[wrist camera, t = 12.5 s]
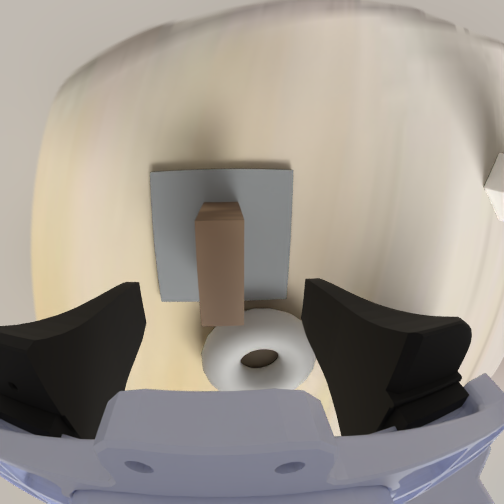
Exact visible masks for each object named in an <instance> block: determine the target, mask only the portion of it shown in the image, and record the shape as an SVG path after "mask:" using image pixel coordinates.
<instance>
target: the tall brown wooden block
mask: <svg viewBox="0 0 504 504" xmlns="http://www.w3.org/2000/svg"><path fill="white" fill-rule="evenodd" d="M195 242H196V260H197V275H198V289H199V302H200V313H201V324H202V326H242V325H244V217H243V214H242V212H241V209H240V206H239V203H238V202H204V203H203V205H202V207H201V209H200V211H199V213H198V215H197V217H196V219H195Z"/></svg>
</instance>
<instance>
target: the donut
mask: <svg viewBox="0 0 504 504" xmlns="http://www.w3.org/2000/svg"><path fill="white" fill-rule="evenodd" d="M258 349H269V350H274V351H276V352H277V353H278V358H277V359H276V360H275V361H274V362H273V363H272V364H270V365H268V366H265V367H262V368H251V367H247V366H245V365H243V364H242V363H241V359H242V357H243V356H244V355H246V354H248V353H249V352H251V351H255V350H258ZM201 354H202V365H203V371H204V373H205V374H206V376H207V378H208V380H209V381H210V383H211V384H212V385H213V386H214V387H215V388H217V389H218V390H219V391H242V390H260V389H272V388H276V389H289V390H294V389H296V388H297V387H298V386H299V385H300V384H302V383H303V382H304V381H305V380H306V379H307V377H308V376H309V374H310V372H311V371H312V369H313V367H314V363H315V359H316V356H315V354H314V352H313V350H312V348H311V346H310V344H309V341H308V339H307V337H306V334H305V331H304V327H303V324H302V321H301V320H300V319H298V318H296V317H295V316H293V315H292V314H290V313H287V312H283V311H279V310H276V309H272V308H257V309H249V310H246V311H244V325H242V326H216V327H215V328H214V329H213V330H212V332H211V333H210V334H209V335H208V336H207V339H206V342H205V344H204V347H203V350H202V353H201Z"/></svg>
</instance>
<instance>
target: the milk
mask: <svg viewBox="0 0 504 504" xmlns="http://www.w3.org/2000/svg"><path fill="white" fill-rule="evenodd" d="M484 189H485V191H486V193H487V195H488V198H489V200H490V202H491V204H492V206H493V209H494V211H495V213H496V216H497V218H498V220H500V221H503V222H504V153H499V154H498V156H497V159H496V161H495V164H494V166H493V168H492V171H491V173H490V175H489V177H488V179H487V181H486V184H485V186H484Z"/></svg>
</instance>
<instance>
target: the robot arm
mask: <svg viewBox="0 0 504 504" xmlns="http://www.w3.org/2000/svg"><path fill="white" fill-rule="evenodd" d="M301 320H302V324H303V327H304V331H305V334H306V337H307V339H308V341H309V344H310V346H311V348H312V350H313V352H314V354H315V356H316V358H317V360H318V363H319V365H320V367H321V369H322V371H323V373H324V376H325V378H326V381H327V384H328V387H329V390H330V393H331V397H332V400H333V404H334V407H335V411H336V415H337V419H338V423H339V427H340V432H341V436H336V437H334V435H333V432H332V430H331V427H330V425H329V422H328V419H327V417H326V414H325V411H324V409H323V406H322V404H321V401H320V400H319V399H317V398H315V397H314V396H312V395H310V394H309V393H307V392H305V391H303V390H289V389H276V388H272V389H260V390H242V391H173V390H156V389H139V390H129V391H125V387H126V383H127V380H128V376H129V374H130V371H131V368H132V366H133V363H134V361H135V358H136V355H137V353H138V350H139V348H140V345H141V342H142V339H143V335H144V331H145V326H146V318H145V313H144V308H143V303H142V297H141V291H140V285H139V282H125V283H122V284H120V285H118V286H116V287H114V288H112V289H110V290H109V291H107V292H105V293H103V294H101V295H100V296H98V297H96V298H94V299H92V300H90V301H88V302H86V303H84V304H82V305H81V306H78V307H76V308H74V309H72V310H69V311H67V312H64V313H62V314H59V315H56V316H53V317H50V318H46V319H43V320H39V321H35V322H30V323H25V324H20V325H10V326H0V476H1V477H3V478H4V479H6V480H7V481H9V482H10V483H12V484H13V485H15V486H17V487H19V488H20V489H22V490H23V491H25V492H27V493H28V494H30V495H32V496H34V497H35V498H37V499H39V500H41V501H43V502H45V503H47V504H495V503H494V502H493V500H492V498H491V497H490V495H489V493H488V492H487V490H486V488H485V487H484V485H483V484H482V482H481V480H480V479H479V477H480V474H481V472H482V470H483V468H484V465H485V463H486V461H487V458H488V456H489V454H490V450H491V447H490V445H491V443H493V441H494V440H495V439H496V438H497V437H498V436H499V435H500V434H501V432H502V431H503V430H504V392H503V391H502V390H501V389H500V388H499V387H498V386H497V385H496V384H495V382H494V381H493V380H492V379H491V378H490V377H489V376H488V375H487V374H486V373H484V374H482V375H480V376H478V377H477V378H475V379H473V380H471V381H469V382H468V383H467V384H466V385H465V386H464V387H463V386H462V385H461V384H460V383H459V381H461V379H462V376H461V375H460V374H459V373H458V369H459V367H460V365H461V363H462V361H463V359H464V357H465V355H466V353H467V351H468V348H469V346H470V343H471V337H472V333H471V328H470V326H469V325H468V324H467V323H466V322H465V321H463V320H462V319H461V318H459V317H441V316H427V315H419V314H413V313H408V312H403V311H399V310H395V309H391V308H388V307H384V306H381V305H378V304H375V303H373V302H370V301H368V300H365V299H363V298H361V297H358V296H356V295H354V294H352V293H350V292H348V291H346V290H344V289H342V288H340V287H338V286H336V285H334V284H332V283H329V282H327V281H325V280H323V279H319V278H315V279H305V289H304V299H303V308H302V316H301Z"/></svg>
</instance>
